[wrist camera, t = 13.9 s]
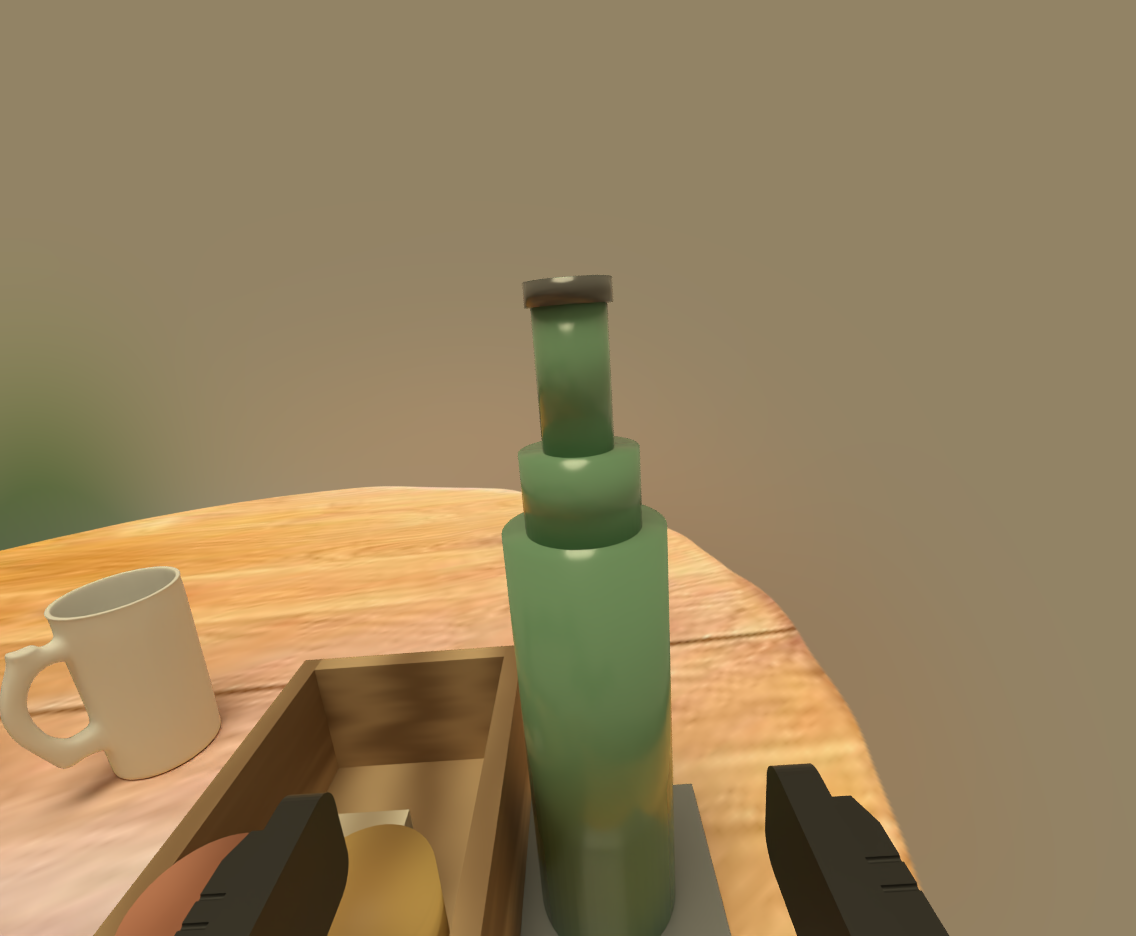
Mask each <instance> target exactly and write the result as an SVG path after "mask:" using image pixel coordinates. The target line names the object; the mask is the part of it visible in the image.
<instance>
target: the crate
mask: <svg viewBox="0 0 1136 936" xmlns="http://www.w3.org/2000/svg"><path fill="white" fill-rule="evenodd" d="M325 792H329V793H331V794H332V795H333V797H334V800H335V803H336V807H337V811H338V815H339V819H340V823H341V827H342V831H343V834H344V838H345V842H346V846H347V850H348V857H349V868H348V876H347V882H346V886H345V890H344V893H343V896H342V899H341V902H340V904H339V907H338V909H337V912H336V914H335V917H334V920H333V922H332V925H331V927H330V930H329V933H328V935H327V936H520V934H521V922H522V909H523V897H524V885H525V872H526V860H527V848H528V835H529V823H530V811H531V790H530V781H529V772H528V763H527V755H526V746H525V737H524V728H523V719H522V710H521V702H520V693H519V684H518V675H517V666H516V657H515V649H514V646H501V647H487V648H473V649H459V650H445V651H431V652H417V653H403V654H389V655H375V656H361V657H347V658H333V659H319V660H306V661H305V662H304V663H303V664H302V666H301V667H300V668H299V670H298V671H297V672H296V673H295V675H294V676H293V677H292V679H291V680H290V681H289V683H288V684H287V685H286V686H285V688H284V689H283V690H282V692H281V693H280V694H279V696H278V697H277V698H276V699H275V701H274V702H273V703H272V705H271V706H270V707H269V708H268V710H267V711H266V712H265V714H264V715H263V716H262V718H261V719H260V720H259V721H258V723H257V724H256V725H255V727H254V728H253V729H252V731H251V732H250V733H249V734H248V736H247V737H246V738H245V740H244V741H243V742H242V743H241V745H240V746H239V747H238V749H237V750H236V751H235V753H234V754H233V755H232V756H231V758H230V759H229V760H228V762H227V763H226V764H225V766H224V767H223V768H222V769H221V771H220V772H219V773H218V775H217V776H216V777H215V778H214V780H213V781H212V782H211V784H210V785H209V786H208V788H207V789H206V790H205V791H204V793H203V794H202V795H201V797H200V798H199V799H198V800H197V802H196V803H195V804H194V806H193V807H192V808H191V810H190V811H189V812H188V813H187V815H186V816H185V817H184V819H183V820H182V821H181V823H180V824H179V825H178V826H177V828H176V829H175V830H174V832H173V833H172V834H171V835H170V837H169V838H168V839H167V841H166V842H165V843H164V845H163V846H162V847H161V848H160V850H159V851H158V852H157V854H156V855H155V856H154V858H153V859H152V860H151V861H150V863H149V864H148V865H147V867H146V868H145V869H144V870H143V872H142V873H141V874H140V876H139V877H138V878H137V880H136V881H135V882H134V883H133V885H132V886H131V887H130V889H129V890H128V891H127V893H126V894H125V895H124V896H123V898H122V899H121V900H120V902H119V903H118V904H117V905H116V907H115V908H114V909H113V911H112V912H111V913H110V915H109V916H108V917H107V918H106V920H105V921H104V922H103V924H102V925H101V926H100V928H99V929H98V930H97V931H96V933H95V934H94V935H93V936H174V935H175V933H176V932H177V931H180V929H181V927H182V922H183V921H184V919H185V918H186V916H187V914H188V913H189V911H190V910H191V908H192V907H193V905H194V903H195V902H196V901H199V899H200V894H201V892H202V891H203V889H204V888H205V886H206V884H207V883H208V881H209V880H210V878H211V877H212V875H213V873H214V872H215V870H216V869H217V867H218V866H219V864H220V862H221V861H222V860H223V859H224V858H225V857H226V856H227V855H228V854H229V853H230V852H231V851H232V850H233V849H234V848H235V847H236V846H237V845H238V844H239V843H240V842H241V841H242V840H243V839H244V838H245V837H246V836H247V835H248V834H249V833H250V832H251V831H259V830H264V828H265V826H266V825H267V823H268V821H269V820H270V818H271V816H272V815H273V813H274V811H275V810H276V808H277V806H278V805H279V803H280V802H281V800H282V799H283V798H284V797H286V796H287V795H294V794H310V793H325Z"/></svg>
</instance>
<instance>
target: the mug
mask: <svg viewBox="0 0 1136 936" xmlns="http://www.w3.org/2000/svg"><path fill="white" fill-rule="evenodd" d="M44 616H45V617H46V618H47V619H48V622H49V624H50V627H51V629H52V632H53V639H52V640H51V642H49V643H48V644H46V645H44V646H41V647H37V646H33V645H31V646H27V647H24V648H22V649H20V650H17V651H14V652H10V653H7V654H6V655H5V661H6V668H5V673H4V677H3V682H2V686H1V692H0V715H1V719H2V723H3V725H4V727H5V729H6V730H7V732H8V733H9V735H10V736H11V737H12V738H13V739H14V740H15V741H16V742H17V743H18V744H19V745H21V746H22V747H23V748H25V749H27V750H28V751H30V752H32V753H34V754H35V755H37V756H39V757H41V758H42V759H44V760H46V761H48V762H49V763H51V764H53V765H55V766H57V767H59V768H63V769H66V768H70V767H72V766H73V765H75V764H77V763H78V762H79V761H81V760H82V759H84V758H86V757H88V756H90V755H92V754H94V753H97V752H99V751H104V752H105V754H106V756H107V758H108V761H109V763H110V765H111V768H112V770H113V772H114V773H115V774H116V775H117V776H118V777H120V778H123V779H128V780H137V779H144V778H149V777H152V776H156V775H159V774H162V773H164V772H167V771H169V770H171V769H173V768H175V767H177V766H179V765H181V764H183V763H185V762H186V761H188V760H190V759H191V758H193V757H194V756H195V755H197V754H198V753H199V752H201V751H202V750H203V749H204V748H205V747H206V746H208V745H209V743H210V742H211V741H212V740H213V739H214V738H215V736H216V735H217V733H218V731H219V729H220V725H221V719H220V714H219V710H218V706H217V702H216V698H215V694H214V691H213V687H212V684H211V681H210V677H209V674H208V670H207V667H206V663H205V660H204V656H203V652H202V649H201V645H200V642H199V638H198V635H197V631H196V627H195V624H194V620H193V617H192V613H191V609H190V606H189V602H188V599H187V595H186V592H185V589H184V585H183V582H182V580H181V577H180V571H179V570H178V569H176V568H174V567H167V566H160V567H149V568H142V569H137V570H132V571H127V572H123V573H119V574H116V575H112V576H109V577H106V578H103V579H100V580H97V581H94V582H92V583H89V584H87V585H84V586H82V587H79V588H77V589H75V590H73V591H71V592H69V593H67V594H65V595H63V596H62V597H60V598H58V599H57V600H55V601H54V602H53V603H51V604H50V605H49V606H48V607H47V608H46V610H45V612H44ZM58 662H65V663H66V665H67V667H68V669H69V672H70V674H71V676H72V678H73V681H74V683H75V685H76V688H77V690H78V692H79V694H80V697H81V699H82V701H83V704H84V706H85V708H86V710H87V713H88V716H89V724H88V726H87V727H86V728H85V729H84V730H82V731H81V732H79V733H78V734H76V735H74V736H72V737H70V738H63V739H62V738H55V737H51V736H49V735H47V734H45V733H44V732H43V731H42V730H41V729H39V728H38V727H37V725H36V724H35V723H34V722H33V720H32V719H31V717H30V715H29V712H28V708H27V695H28V691H29V688H30V685H31V683H32V681H33V680H34V678H35V677H36V676H37V675H38V673H39V672H40V671H42V670H43V669H44V668H46V667H48V666H50V665H52V664H54V663H58Z"/></svg>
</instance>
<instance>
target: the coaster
mask: <svg viewBox="0 0 1136 936" xmlns="http://www.w3.org/2000/svg"><path fill="white" fill-rule="evenodd" d="M673 803H674V846H675V889H676V893H675V904H674V909H673V913H672V916H671V919H670V921H669V923H668V925H667V927H666V929H665V930H664V931H663V933H662V934H661V936H731V933H730V929H729V925H728V922H727V918H726V914H725V910H724V906H723V902H722V899H721V895H720V891H719V887H718V883H717V879H716V875H715V872H714V868H713V864H712V860H711V856H710V852H709V848H708V845H707V841H706V837H705V833H704V829H703V825H702V822H701V818H700V814H699V810H698V806H697V802H696V798H695V795H694V791H693V787H692V784H682V785H673ZM520 936H559V935H558V934H557V932H556V931H555V930H554V928H553V927H552V925H551V923H550V921H549V919H548V916H547V914H546V911H545V907H544V903H543V896H542V887H541V878H540V869H539V860H538V852H537V843H536V834H535V825H534V816H533V808H532V799H531V811H530V823H529V835H528V848H527V860H526V872H525V885H524V897H523V909H522V922H521V934H520Z"/></svg>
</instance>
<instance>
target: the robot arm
mask: <svg viewBox="0 0 1136 936" xmlns="http://www.w3.org/2000/svg"><path fill="white" fill-rule="evenodd" d="M765 834H766V843H767V848H768V853H769V858H770V861H771V865H772V868H773V871H774V874H775V877H776V880H777V882H778V885H779V888H780V890H781V893H782V896H783V899H784V901H785V904H786V907H787V909H788V912H789V915H790V918H791V920H792V923H793V926H794V928H795V931H796V934H797V936H949V935H948V933H947V931H946V930H945V928H944V927H943V925H942V923H941V922H940V920H939V919H938V917H937V915H936V913H935V912H934V910H933V909H932V907H931V905H930V904H929V902H928V900H927V899H926V897H925V896H924V894H923V892H922V891H920V890H919V889H918V887H917V883H916V881H915V879H914V878H913V876H912V874H911V873H910V871H909V869H908V868H907V866H906V865H905V863H904V862H902V861H901V859H900V855H899V853H898V852H897V850H896V848H895V847H894V845H893V843H892V842H891V840H890V838H889V837H888V835H887V834H886V832H885V830H884V829H883V827H882V825H881V824H880V822H879V821H878V820H877V819H875V818H874V817H873V816H872V815H871V814H870V813H869V812H868V811H867V810H866V809H865V808H864V807H862V806H861V805H860V804H859V803H858V802H857V801H856V800H855V799H854V798H853V797H852V796H837V797H832V796H831V794H830V792H829V791H828V789H827V787H826V785H825V783H824V781H823V780H822V778H821V776H820V774H819V772H818V771H817V769H816V768H815V767H814V766H813V765H812V764H793V765H777V766H769V767H768V769H767V785H766V817H765ZM348 868H349V857H348V850H347V846H346V842H345V838H344V834H343V831H342V827H341V823H340V819H339V815H338V811H337V807H336V803H335V800H334V797H333V795H332V794H331V793H329V792H325V793H310V794H294V795H287V796H286V797H284V798H283V799H282V800H281V802H280V803H279V805H278V806H277V808H276V810H275V811H274V813H273V815H272V816H271V818H270V820H269V821H268V823H267V825H266V826H265V828H264V830H259V831H251V832H250V833H249V834H248V835H247V836H246V837H245V838H244V839H243V840H242V841H241V842H240V843H239V844H238V845H237V846H236V847H235V848H234V849H233V850H232V851H231V852H230V853H229V854H228V855H227V856H226V857H225V858H224V859H223V860H222V861H221V862H220V864H219V866H218V867H217V869H216V870H215V872H214V873H213V875H212V877H211V878H210V880H209V881H208V883H207V884H206V886H205V888H204V889H203V891H202V892H201V894H200V899H199V901H196V902H195V903H194V905H193V907H192V908H191V910H190V911H189V913H188V914H187V916H186V918H185V919H184V921H183V922H182V927H181V929H180V931H177V932H176V933H175V935H174V936H327V935H328V933H329V930H330V927H331V925H332V922H333V920H334V917H335V914H336V912H337V909H338V907H339V904H340V902H341V899H342V896H343V893H344V890H345V886H346V882H347V876H348Z"/></svg>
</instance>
